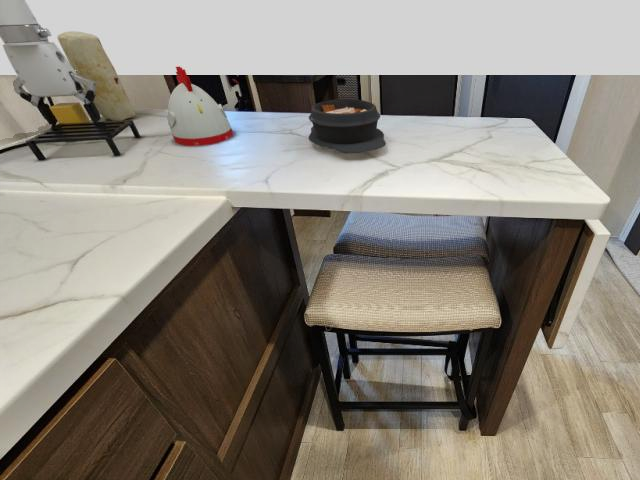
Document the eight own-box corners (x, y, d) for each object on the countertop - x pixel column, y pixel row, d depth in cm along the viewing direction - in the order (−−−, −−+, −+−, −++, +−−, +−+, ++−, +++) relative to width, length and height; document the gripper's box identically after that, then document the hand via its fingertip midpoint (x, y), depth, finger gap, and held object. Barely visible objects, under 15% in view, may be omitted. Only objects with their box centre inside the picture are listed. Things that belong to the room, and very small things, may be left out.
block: (68, 138, 83) (49, 107, 79) (77, 133, 87) (59, 103, 82) (88, 137, 84) (70, 106, 79) (96, 132, 87) (79, 102, 83)
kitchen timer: (183, 149, 78) (152, 74, 68) (168, 135, 86) (137, 66, 75) (241, 138, 85) (220, 67, 75) (222, 126, 92) (200, 60, 82)
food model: (141, 115, 100) (101, 30, 86) (133, 121, 95) (89, 32, 81) (105, 116, 98) (58, 30, 85) (95, 123, 93) (44, 32, 80)
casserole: (296, 135, 87) (289, 99, 81) (360, 125, 94) (357, 91, 88) (330, 167, 71) (325, 124, 65) (404, 152, 78) (405, 113, 72)
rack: (38, 160, 72) (24, 141, 70) (70, 140, 82) (59, 123, 80) (119, 155, 75) (108, 137, 72) (141, 136, 85) (132, 119, 82)
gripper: (76, 33, 76) (119, 116, 87) (-12, 34, 73) (45, 119, 85) (58, 36, 70) (107, 124, 82) (-37, 38, 68) (28, 128, 79)
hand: (76, 121), depth 83 cm, fingers open, 9 cm apart
